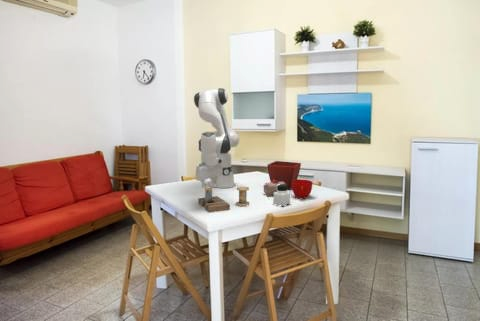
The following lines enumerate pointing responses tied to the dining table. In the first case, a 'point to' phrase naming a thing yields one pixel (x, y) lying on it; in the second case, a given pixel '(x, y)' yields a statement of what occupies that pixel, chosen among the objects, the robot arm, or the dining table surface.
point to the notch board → (214, 204)
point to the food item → (271, 187)
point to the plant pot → (284, 172)
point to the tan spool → (242, 196)
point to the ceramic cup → (301, 188)
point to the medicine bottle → (281, 195)
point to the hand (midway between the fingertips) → (209, 185)
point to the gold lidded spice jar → (208, 195)
